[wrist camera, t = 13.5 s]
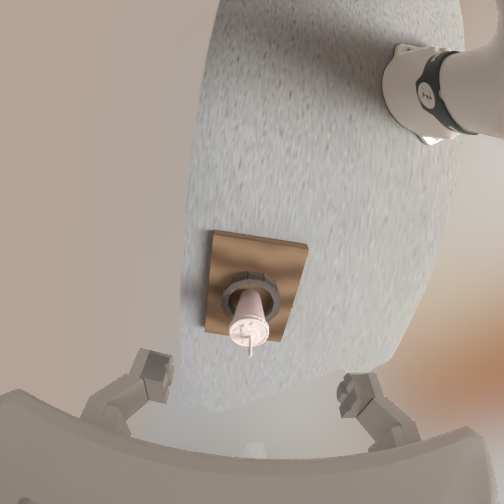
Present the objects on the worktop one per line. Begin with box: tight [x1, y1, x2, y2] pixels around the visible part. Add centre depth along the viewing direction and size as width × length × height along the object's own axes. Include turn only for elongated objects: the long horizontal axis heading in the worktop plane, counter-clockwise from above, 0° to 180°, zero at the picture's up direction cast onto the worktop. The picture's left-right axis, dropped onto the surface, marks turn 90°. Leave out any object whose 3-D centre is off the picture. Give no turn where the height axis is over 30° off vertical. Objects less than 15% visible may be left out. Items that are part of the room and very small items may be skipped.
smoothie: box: [229, 289, 269, 357], centre depth 44 cm, size 6×6×14 cm
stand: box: [205, 230, 309, 342], centre depth 49 cm, size 22×16×4 cm
